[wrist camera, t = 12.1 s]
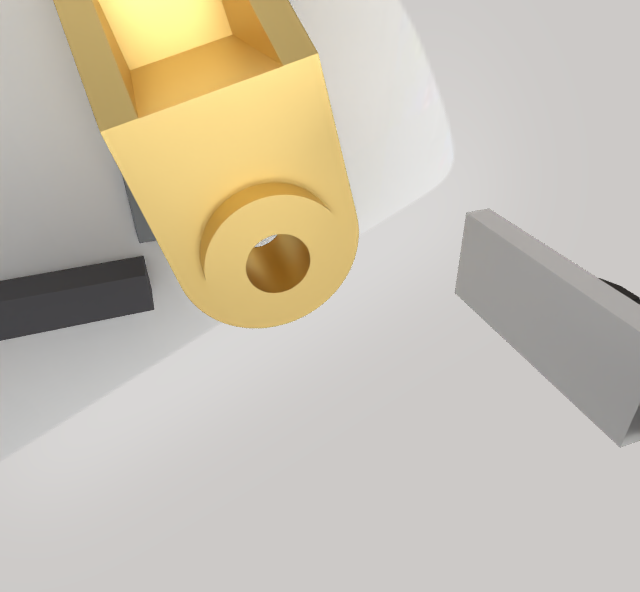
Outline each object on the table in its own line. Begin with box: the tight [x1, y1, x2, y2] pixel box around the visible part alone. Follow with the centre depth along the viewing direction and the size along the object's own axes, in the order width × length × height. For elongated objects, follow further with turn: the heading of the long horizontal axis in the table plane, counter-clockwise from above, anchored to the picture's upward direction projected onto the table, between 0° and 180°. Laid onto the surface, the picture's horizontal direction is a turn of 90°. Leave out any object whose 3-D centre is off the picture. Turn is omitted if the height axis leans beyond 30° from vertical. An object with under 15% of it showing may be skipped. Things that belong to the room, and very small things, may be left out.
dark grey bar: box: [0, 256, 154, 341], centre depth 37 cm, size 17×4×4 cm, turn 92°
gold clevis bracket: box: [53, 0, 359, 328], centre depth 27 cm, size 20×9×16 cm, turn 16°
